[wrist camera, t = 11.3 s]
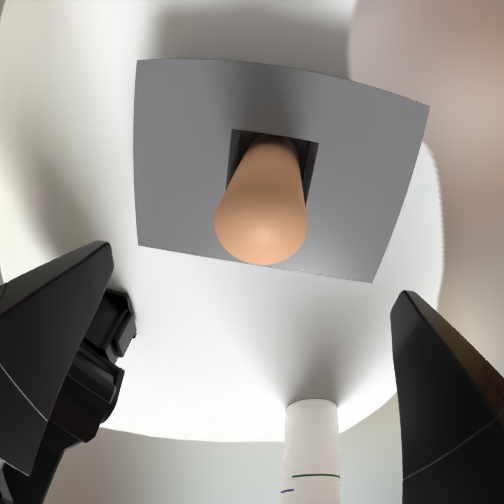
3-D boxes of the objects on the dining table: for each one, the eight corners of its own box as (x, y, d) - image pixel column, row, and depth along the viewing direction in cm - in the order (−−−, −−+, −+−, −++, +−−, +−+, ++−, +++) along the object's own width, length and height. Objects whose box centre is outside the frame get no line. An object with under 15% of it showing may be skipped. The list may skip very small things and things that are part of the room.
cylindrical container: (275, 412, 37) (258, 576, 17) (310, 393, 34) (302, 582, 13) (312, 424, 39) (305, 573, 18) (347, 407, 36) (350, 574, 15)
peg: (243, 176, 20) (212, 257, 12) (249, 129, 18) (217, 175, 10) (292, 184, 20) (297, 271, 12) (301, 137, 18) (316, 191, 10)
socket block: (159, 218, 23) (138, 245, 19) (163, 62, 16) (137, 60, 13) (360, 251, 22) (371, 283, 19) (404, 99, 16) (429, 106, 12)
